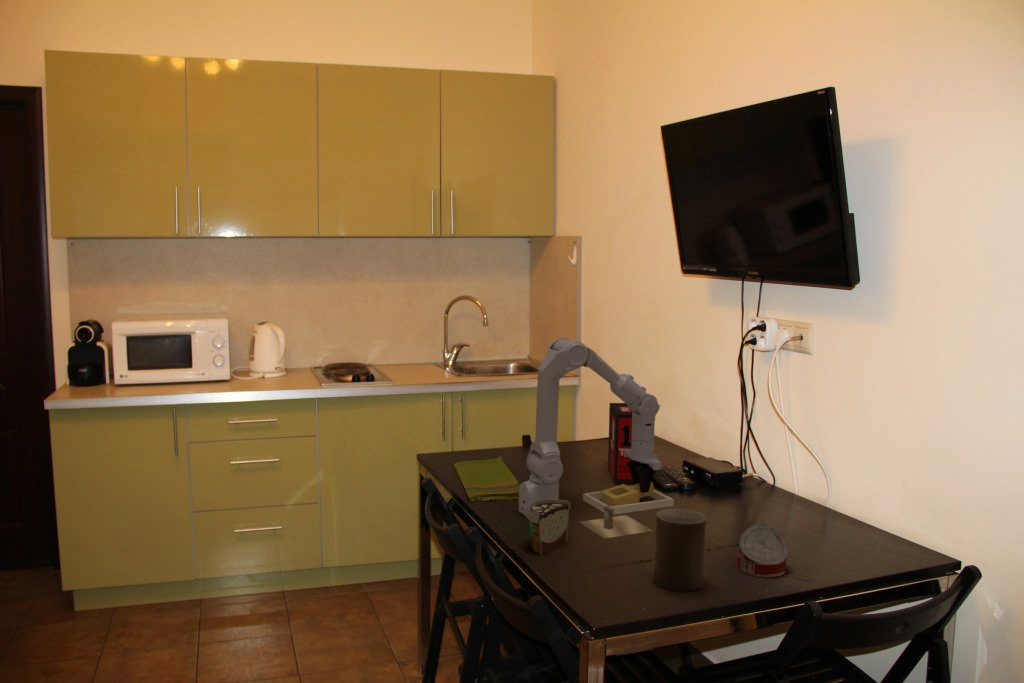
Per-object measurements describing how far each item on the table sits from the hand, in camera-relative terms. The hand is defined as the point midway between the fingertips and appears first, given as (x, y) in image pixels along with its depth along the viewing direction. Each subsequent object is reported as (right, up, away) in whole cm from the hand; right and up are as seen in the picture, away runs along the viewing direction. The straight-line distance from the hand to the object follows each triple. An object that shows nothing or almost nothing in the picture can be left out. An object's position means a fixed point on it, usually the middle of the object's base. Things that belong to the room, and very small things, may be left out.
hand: (641, 490), depth 215 cm
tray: (-4, -4, -1) cm, 5 cm away
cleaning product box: (0, -1, +25) cm, 25 cm away
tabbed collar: (-3, -2, -1) cm, 4 cm away
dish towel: (-40, -2, +20) cm, 45 cm away
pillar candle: (0, -10, -48) cm, 49 cm away
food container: (-27, -8, -31) cm, 41 cm away
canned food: (+19, -9, -41) cm, 46 cm away
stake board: (-9, -6, -19) cm, 22 cm away
